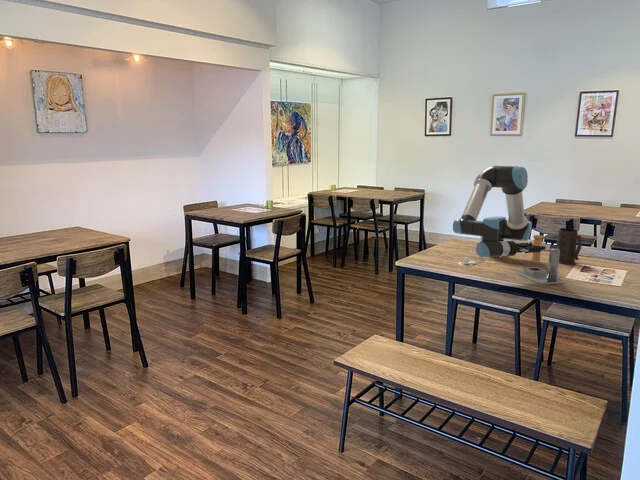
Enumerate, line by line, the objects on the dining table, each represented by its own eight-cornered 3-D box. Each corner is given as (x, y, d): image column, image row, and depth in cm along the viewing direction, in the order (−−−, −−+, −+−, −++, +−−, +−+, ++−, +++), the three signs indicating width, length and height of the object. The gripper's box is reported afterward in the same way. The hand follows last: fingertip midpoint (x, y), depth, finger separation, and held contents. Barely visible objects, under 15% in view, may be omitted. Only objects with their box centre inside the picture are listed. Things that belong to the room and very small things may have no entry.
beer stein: (549, 260, 273) (554, 228, 268) (561, 258, 278) (566, 226, 272) (572, 268, 260) (579, 234, 255) (584, 266, 265) (591, 232, 260)
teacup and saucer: (475, 264, 267) (476, 257, 266) (472, 267, 260) (473, 260, 259) (460, 262, 271) (460, 255, 270) (456, 265, 264) (457, 258, 264)
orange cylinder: (529, 259, 241) (531, 235, 239) (536, 259, 242) (539, 234, 240) (535, 261, 237) (537, 236, 235) (542, 261, 238) (545, 236, 236)
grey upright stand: (514, 272, 248) (517, 241, 244) (534, 271, 251) (537, 240, 247) (543, 285, 226) (547, 250, 223) (565, 283, 229) (568, 249, 225)
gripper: (495, 252, 243) (534, 250, 248) (516, 259, 227) (557, 257, 232) (497, 238, 241) (536, 236, 247) (517, 244, 226) (558, 242, 231)
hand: (546, 246), depth 240 cm, fingers closed on orange cylinder, 4 cm apart
